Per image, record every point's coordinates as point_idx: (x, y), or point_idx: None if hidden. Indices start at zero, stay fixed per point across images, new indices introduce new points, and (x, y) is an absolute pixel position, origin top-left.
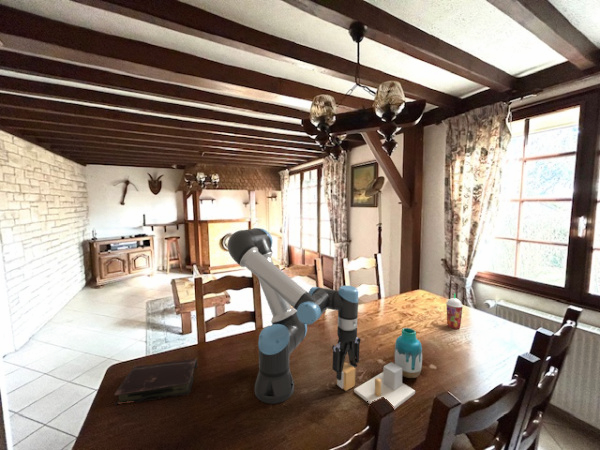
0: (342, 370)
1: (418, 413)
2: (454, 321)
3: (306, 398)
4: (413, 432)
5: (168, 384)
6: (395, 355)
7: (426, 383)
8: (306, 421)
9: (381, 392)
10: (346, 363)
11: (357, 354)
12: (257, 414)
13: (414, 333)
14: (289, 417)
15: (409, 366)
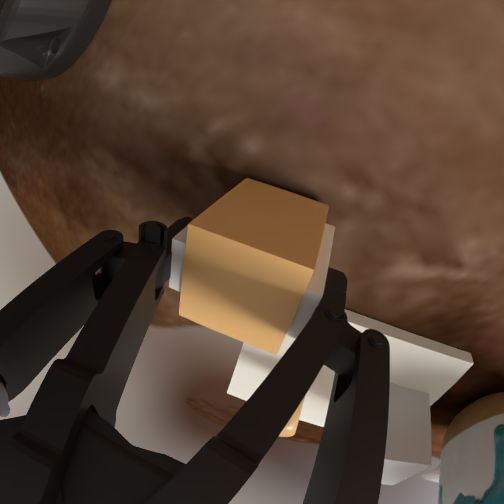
0: (162, 294)
1: (303, 436)
2: None
3: (90, 118)
4: None
5: None
6: (488, 460)
7: None
8: (51, 192)
9: (317, 382)
10: (296, 279)
11: (325, 437)
12: (5, 79)
13: None
14: (32, 144)
15: (440, 474)
